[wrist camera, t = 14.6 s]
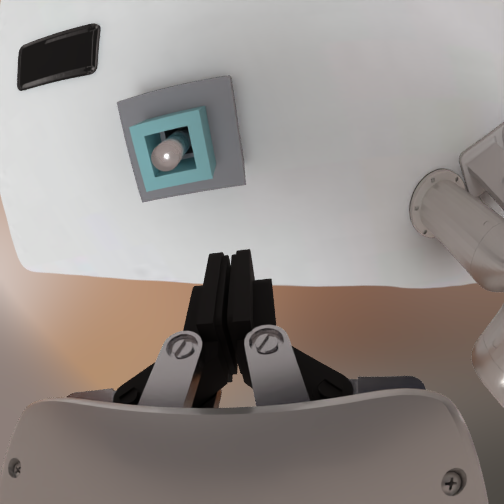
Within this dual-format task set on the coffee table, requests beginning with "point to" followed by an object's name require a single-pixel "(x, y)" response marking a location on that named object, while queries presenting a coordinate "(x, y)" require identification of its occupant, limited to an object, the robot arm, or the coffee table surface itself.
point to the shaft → (171, 150)
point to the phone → (59, 57)
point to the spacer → (187, 169)
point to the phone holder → (485, 166)
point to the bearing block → (173, 100)
